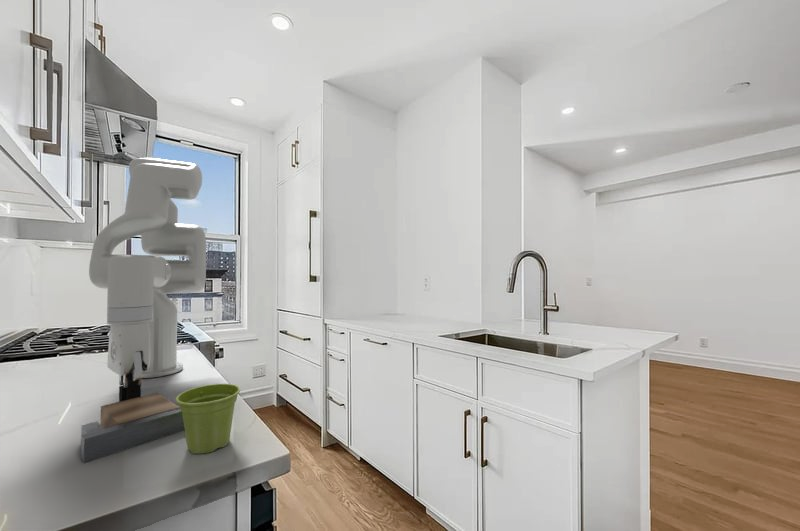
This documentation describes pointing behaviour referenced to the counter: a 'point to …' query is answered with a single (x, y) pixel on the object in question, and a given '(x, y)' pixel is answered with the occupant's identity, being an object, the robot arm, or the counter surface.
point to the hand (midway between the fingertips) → (129, 404)
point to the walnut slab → (134, 409)
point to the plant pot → (208, 415)
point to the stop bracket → (127, 434)
